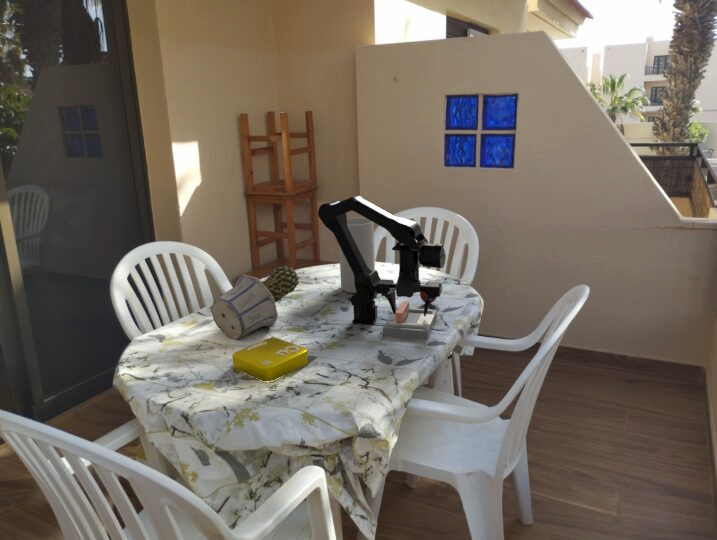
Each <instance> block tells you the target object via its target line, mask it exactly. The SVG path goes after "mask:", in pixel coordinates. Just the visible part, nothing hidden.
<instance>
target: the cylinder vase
mask: <svg viewBox="0 0 717 540" xmlns="http://www.w3.org/2000/svg"><path fill="white" fill-rule="evenodd" d="M347 226H348V229H349V231H350V233H351V235H352V237H353V239H354V241H355V243H356V245H357V247H358V249H359V251H360V253H361V255H362V257H363V259H364V261H365V263H366V265H367V267H368V268H369V269H370V270H371V271H372V272H374V271H375V270H376V267H375V266H376V265H375V262H376V261H375V235H374V232H375V231H374V222H372V221H371V220H369V219H367V218H365V217H347ZM338 248H339V252H338V253H339V269H340V270H339V271H340V288H341V290H342V291H343V292H346V293H349V294H355V293H357V291H356V288H355V284H354V274H353V272H352V270H351V268H350V266H349V264H348V262H347V260H346V258H345V256H344V254H343V252H342V250H341V248H340V246H339V245H338Z"/></svg>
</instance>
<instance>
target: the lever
mask: <svg viewBox="0 0 717 540" xmlns="http://www.w3.org/2000/svg"><path fill="white" fill-rule="evenodd" d="M398 307H399V308H398ZM398 307H397V308H398V310H397V311H396V322H403V321H404V319H405V317H406V315H407V314H408V312H409V308H410V301H404V300H402V302H401V303H400V305H399V306H398Z"/></svg>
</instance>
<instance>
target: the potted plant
mask: <svg viewBox="0 0 717 540" xmlns="http://www.w3.org/2000/svg"><path fill="white" fill-rule="evenodd" d="M299 284H300V283H299V275H298V273H297V272H296V270H294V269H293V267H288V266H286V265H282V266H278V267H277V268H275V267H274V268H272V272H271V273H270V275H269V276H267V277H266V279H265V280H263V281H262V280H260V279H259V278H258V277H255V276H252V275H247V274H242V275H240V277H239V278H238V279H237V281H236V283H235V284H234V286H233V287H232V288H231V289H229V290H228V291H226V292H224V293H223V294H222V295H220V296H218V297H217V298H215V300H213V302H212V305H211V306H210V313H211V315H212V318H213V322H214V323H215V325H216V326H217V328H219V329H220V330H221V332H222V333H223V334H225V336H227V338H229V339H232V338H233V339H232V340H239V339H241V338H243V337H245V336H246V335H248V334H250V333H252V332H253V331H255V330H258V329H260V328H263V327H265V328H272V327H273V326H274V325H275V323H276V321H278V318H279V314H278V310H277V305H276V303H278V302H279V301H281V300H282V299H283V297H286V296H288V294H291V293H292V292H294V291H295V289H296V288H297V286H298V285H299Z"/></svg>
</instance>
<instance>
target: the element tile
mask: <svg viewBox="0 0 717 540" xmlns="http://www.w3.org/2000/svg"><path fill="white" fill-rule="evenodd" d="M231 356H232V365H233V369H234V368H235V369H236V370H239V371H241V372H243V373H246V374H248V375H250V376H253V377H255V378H258V379H260V380H262V381H271V380H275V379H277V378H279V377H281V376H283V375H285V376H287V375H289V374H291V373H293V372H295V371H297V370H299V369H301V368H303V367H306V366H307V365H308V364H309V362H308V361H309V360H308V358H309V357H308V356H309V355H308V349H307V348H306V347H304V346H301V345H298V344H295V343H293V342H289V341H287V340H284V339H281V338H279V337H275V336H272V337H268V338H266V339H263V340H261V341H259V342H256V343H254V344H252V345H250V346H247V347H245V348H242V349H240V350H237V351H235V352H234V353H232V355H231ZM307 363H308V364H307ZM306 364H307V365H306ZM302 366H303V367H302ZM300 367H301V368H300ZM298 368H299V369H298ZM235 369H234V370H235ZM296 369H297V370H296ZM236 370H235V371H236ZM294 370H295V371H294ZM239 371H238V372H239ZM292 371H293V372H292ZM241 372H240V373H241ZM290 372H291V373H290ZM243 373H242V374H243ZM288 373H289V374H288ZM246 374H245V375H246ZM286 374H287V375H286ZM248 375H247V376H248ZM250 376H249V377H250ZM283 377H284V376H283ZM255 378H254V379H255ZM281 378H282V377H281ZM279 379H280V378H279ZM277 380H278V379H277ZM262 381H261V382H262ZM275 381H276V380H275Z"/></svg>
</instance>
